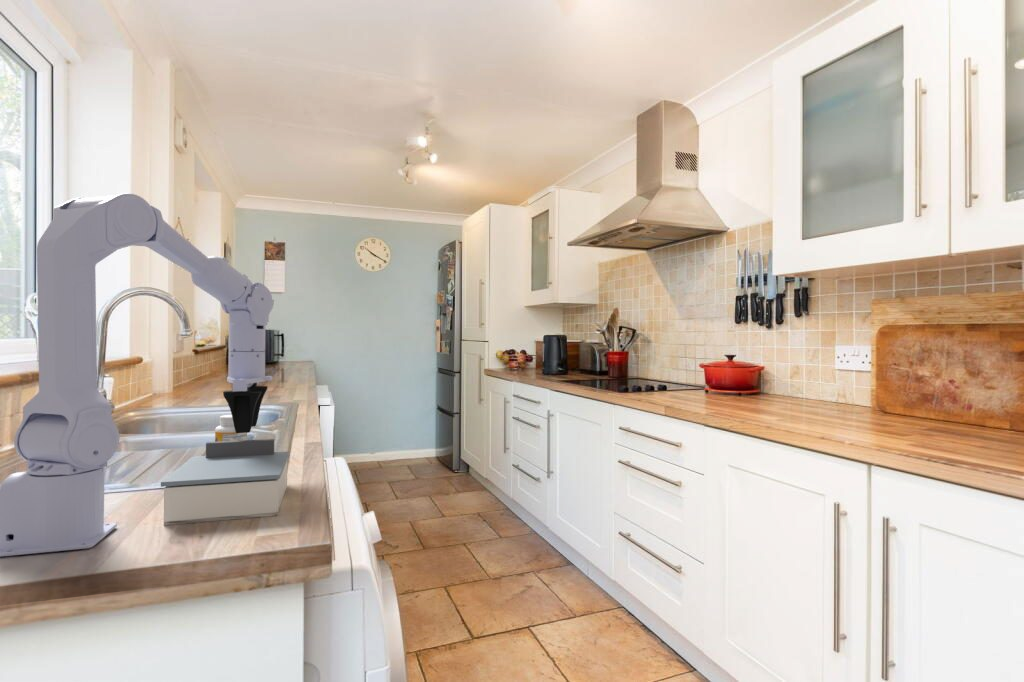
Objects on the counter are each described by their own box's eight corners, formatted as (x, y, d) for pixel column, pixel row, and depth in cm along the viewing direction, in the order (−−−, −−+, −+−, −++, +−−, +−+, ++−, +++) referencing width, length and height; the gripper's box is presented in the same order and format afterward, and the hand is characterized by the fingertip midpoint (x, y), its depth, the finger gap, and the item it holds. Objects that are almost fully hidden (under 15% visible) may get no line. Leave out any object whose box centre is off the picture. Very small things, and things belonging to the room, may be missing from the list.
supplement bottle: (218, 465, 105) (218, 414, 105) (249, 464, 106) (249, 413, 106) (211, 472, 99) (211, 418, 100) (244, 470, 101) (244, 417, 101)
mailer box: (163, 525, 71) (164, 488, 71) (194, 492, 86) (194, 462, 86) (277, 515, 75) (277, 480, 75) (287, 486, 90) (287, 457, 90)
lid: (160, 486, 70) (161, 464, 70) (192, 460, 86) (193, 441, 86) (279, 478, 75) (279, 457, 75) (289, 454, 91) (289, 437, 91)
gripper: (267, 352, 86) (266, 435, 86) (276, 350, 100) (275, 422, 100) (218, 352, 84) (217, 437, 84) (235, 350, 98) (234, 423, 98)
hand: (246, 429), depth 92 cm, fingers open, 6 cm apart
